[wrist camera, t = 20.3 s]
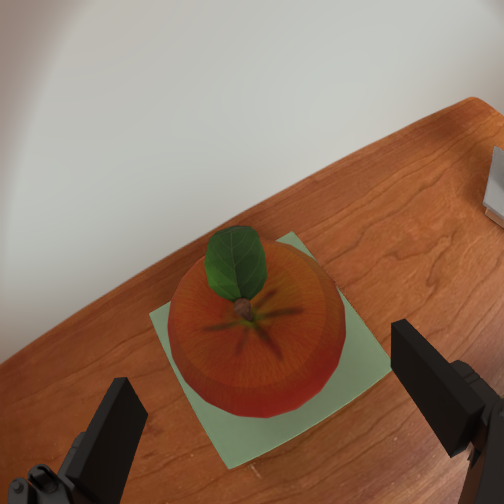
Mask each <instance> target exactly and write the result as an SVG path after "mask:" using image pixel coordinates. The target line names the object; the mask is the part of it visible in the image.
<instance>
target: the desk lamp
mask: <svg viewBox="0 0 504 504" xmlns="http://www.w3.org/2000/svg"><path fill="white" fill-rule="evenodd" d="M482 205H484V206H485V207H487V208H486V212H485V215H486V216H488V217H489V218H490V219H492V220H493V221H494V222H496V223H497V224H498V225H500V226H501V227H502V228H503V229H504V151H503V150H501V149H500V148H498V147H497V146H494V149H493V156H492V162H491V167H490V172H489V177H488V182H487V187H486V191H485V195H484V200H483V204H482Z"/></svg>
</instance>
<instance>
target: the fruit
mask: <svg viewBox="0 0 504 504" xmlns="http://www.w3.org/2000/svg"><path fill="white" fill-rule="evenodd" d="M167 331H168V337H169V343H170V349H171V354H172V358H173V360H174V362H175V364H176V366H177V368H178V370H179V372H180V373H181V375H182V377H183V379H184V381H185V382H186V383H187V384H188V385H189V386H190V387H191V388H192V389H193V390H194V391H195V392H196V393H197V394H198V395H199V396H200V397H201V398H202V399H203V400H204V401H205V402H207V403H209V404H211V405H213V406H215V407H218V408H220V409H222V410H224V411H226V412H228V413H231V414H233V415H235V416H240V417H253V418H270V417H274V416H277V415H280V414H284V413H287V412H290V411H293V410H296V409H298V408H299V407H301V406H302V405H303V404H305V403H306V402H307V401H309V400H310V399H311V398H313V397H314V396H315V395H316V394H318V393H319V392H320V391H321V390H322V389H323V387H324V386H325V385H326V383H327V382H328V380H329V379H330V377H331V376H332V374H333V373H334V371H335V370H336V368H337V367H338V364H339V360H340V357H341V354H342V350H343V347H344V343H345V339H346V320H345V306H344V303H343V301H342V299H341V296H340V294H339V291H338V289H337V287H336V284H335V282H334V281H333V279H332V278H331V277H330V276H329V275H328V274H327V273H326V271H325V270H324V269H323V268H322V267H321V266H320V265H319V263H318V262H317V261H316V260H314V259H313V258H312V257H310V256H309V255H307V254H305V253H304V252H302V251H300V250H299V249H297V248H295V247H294V246H292V245H290V244H286V243H282V242H278V241H274V240H270V239H259V236H258V234H257V231H256V230H254V229H253V228H252V227H250V226H239V225H237V226H231V227H228V228H226V229H223V230H221V231H218V232H216V233H215V234H214V235H213V236H212V237H211V238H210V239H209V242H208V247H207V252H206V255H205V256H203V257H202V258H200V259H199V260H197V261H196V263H195V264H194V265H193V266H192V267H191V268H190V269H189V270H188V272H187V273H186V274H185V275H184V276H183V277H182V278H181V280H180V282H179V285H178V287H177V289H176V291H175V293H174V295H173V297H172V299H171V303H170V309H169V316H168V323H167Z"/></svg>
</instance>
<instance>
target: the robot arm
mask: <svg viewBox="0 0 504 504" xmlns="http://www.w3.org/2000/svg"><path fill="white" fill-rule="evenodd" d="M390 367H391V369H392V370H393V371H394V373H395V374H396V376H397V377H398V379H399V380H400V382H401V383H402V384H403V386H404V387H405V389H406V390H407V392H408V393H409V395H410V396H411V398H412V399H413V401H414V402H415V404H416V405H417V407H418V408H419V410H420V411H421V413H422V414H423V416H424V417H425V419H426V420H427V422H428V423H429V425H430V426H431V428H432V430H433V431H434V433H435V434H436V436H437V437H438V439H439V440H440V442H441V444H442V445H443V447H444V448H445V450H446V452H447V453H448V455H449V456H450V458H452V457H454V456H455V455H457V454H459V453H461V452H462V451H464V450H466V448H467V446H468V444H469V442H470V441H471V442H472V444H473V445H474V448H473V449H472V451H471V453H470V455H469V457H468V459H467V460H470V463H469V467H468V471H467V475H466V479H465V482H464V486H463V489H462V492H461V496H460V499H459V502H458V504H504V398H501V397H500V396H499V395H498V394H497V393H496V392H495V391H494V390H493V389H492V388H491V387H490V386H489V385H488V384H487V383H486V382H485V381H484V380H483V379H482V378H480V376H479V375H478V374H477V373H475V371H474V370H473V369H472V368H471V367H470V366H469V365H468V364H467V363H464V362H462V361H460V360H456V361H454V362H452V363H450V364H449V363H448V362H447V361H446V360H445V359H444V358H443V356H442V355H441V354H440V353H439V352H438V351H437V350H436V349H435V348H434V347H433V346H432V345H431V344H430V343H429V342H428V341H427V340H426V339H425V338H424V337H423V336H422V335H421V334H420V333H419V332H418V331H417V330H416V329H415V328H414V327H413V326H412V325H411V324H410V323H409V322H408V321H407V320H406V319H402V320H399V321H396V322H393V323H391V365H390ZM147 417H148V413H147V412H146V410H145V408H144V407H143V405H142V403H141V402H140V400H139V398H138V396H137V395H136V393H135V391H134V389H133V388H132V386H131V384H130V382H129V380H128V378H127V377H121V378H114V380H113V382H112V384H111V385H110V387H109V389H108V391H107V393H106V394H105V396H104V398H103V400H102V402H101V404H100V405H99V407H98V409H97V411H96V413H95V415H94V417H93V419H92V420H91V422H90V424H89V426H88V428H87V430H86V432H81V433H80V434H79V435H78V436H77V437H76V438H75V440H74V442H73V444H72V446H71V448H70V450H69V452H68V454H67V455H66V457H65V459H64V461H63V463H62V465H61V467H60V469H59V471H58V473H57V475H56V474H55V473H54V472H53V471H52V470H51V469H50V468H49V467H48V466H46V465H45V464H39V465H36V466H34V467H32V469H31V470H30V471H29V473H28V477H27V479H28V480H29V481H30V482H31V483H32V484H33V485H31V484H30V483H29V482H28V481H27V480H26V479H24V478H16V479H14V480H13V481H12V482H11V484H10V486H9V491H8V503H7V504H95V503H96V504H120V500H121V497H122V494H123V490H124V487H125V484H126V481H127V477H128V474H129V471H130V468H131V465H132V462H133V459H134V456H135V452H136V449H137V446H138V443H139V440H140V437H141V434H142V431H143V429H144V426H145V423H146V420H147ZM470 458H471V459H470Z"/></svg>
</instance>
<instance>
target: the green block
mask: <svg viewBox="0 0 504 504" xmlns="http://www.w3.org/2000/svg"><path fill="white" fill-rule="evenodd" d="M276 241H278V242H282V243H286V244H290V245H292V246H294V247H295V248H297V249H299V250H300V251H302V252H304V253H305V254H307V255H309V256H310V257H312V258H313V259H314V260H316V259H315V258H314V257H313V256H312V254H311V253H310V252H309V251H308V249H307V248H306V247H305V246H304V244H303V243H302V242H301V241H300V239H299V238H298V237H297V236H296V234H295V233H294V232H293V231H292V232H290V233H288V234H286V235H285V236H283V237H281V238H279V239H278V240H276ZM319 265H320V264H319ZM336 287H337V286H336ZM337 289H338V288H337ZM338 291H339V294H340V296H341V299H342V301H343V303H344V306H345V320H346V339H345V343H344V347H343V350H342V354H341V357H340V360H339V364H338V367H337V368H336V370H335V371H334V373H333V374H332V376H331V377H330V379H329V380H328V382H327V383H326V385H325V386H324V387H323V389H322V390H321V391H320V392H319V393H318V394H316V395H315V396H314V397H313V398H311V399H310V400H309V401H307V402H306V403H305V404H303V405H302V406H301V407H299V408H298V409H296V410H293V411H290V412H287V413H284V414H280V415H277V416H274V417H270V418H253V417H240V416H235V415H233V414H231V413H228V412H226V411H224V410H222V409H220V408H218V407H215V406H213V405H211V404H209V403H207V402H205V401H204V400H203V399H202V398H201V397H200V396H199V395H198V394H197V393H196V392H195V391H194V390H193V389H192V388H191V387H190V386H189V385H188V384H187V383H186V382H185V381H184V379H183V377H182V375H181V373H180V372H179V370H178V368H177V366H176V364H175V362H174V360H173V358H172V354H171V349H170V343H169V337H168V331H167V323H168V316H169V309H170V303H171V301H170V302H168V303H167V304H165V305H163V306H161V307H160V308H158V309H156V310H155V311H153V312H151V313H149V316H150V318H151V321H152V323H153V325H154V328H155V330H156V333H157V335H158V337H159V339H160V342H161V344H162V346H163V349H164V351H165V353H166V355H167V357H168V360H169V362H170V364H171V366H172V368H173V370H174V372H175V374H176V376H177V378H178V380H179V383H180V385H181V387H182V389H183V390H184V392H185V394H186V396H187V398H188V400H189V402H190V404H191V406H192V408H193V410H194V412H195V413H196V415H197V417H198V419H199V421H200V423H201V424H202V426H203V428H204V430H205V431H206V433H207V435H208V437H209V438H210V440H211V442H212V443H213V445H214V447H215V448H216V450H217V452H218V453H219V455H220V457H221V458H222V460H223V461H224V463H225V465H226V466H227V468H228V469H232V468H234V467H236V466H239V465H241V464H243V463H245V462H247V461H249V460H251V459H254V458H256V457H258V456H260V455H262V454H264V453H266V452H268V451H270V450H272V449H274V448H275V447H277V446H279V445H281V444H283V443H285V442H287V441H288V440H290V439H292V438H294V437H295V436H297V435H299V434H301V433H302V432H304V431H306V430H307V429H309V428H311V427H312V426H314V425H316V424H317V423H319V422H321V421H322V420H324V419H325V418H327V417H328V416H330V415H331V414H333V413H334V412H336V411H337V410H339V409H340V408H342V407H343V406H345V405H346V404H348V403H349V402H351V401H352V400H353V399H355V398H356V397H358V396H359V395H360V394H362V393H363V392H364V391H366V390H367V389H368V388H370V387H371V386H372V385H374V384H375V383H376V382H378V381H379V380H380V379H381V378H383V377H384V376H385V375H386V374H388V373H389V372H390V371H391V370H392V369H391V367H390V365H391V359H390V358H389V356H388V355H387V354H386V352H385V351H384V349H383V348H382V347H381V345H380V344H379V342H378V341H377V340H376V338H375V337H374V336H373V334H372V333H371V331H370V330H369V329H368V327H367V326H366V325H365V323H364V322H363V321H362V319H361V318H360V317H359V315H358V314H357V313H356V311H355V310H354V309H353V307H352V306H351V305H350V303H349V302H348V301H347V299H346V298H345V297H344V295H343V294H342V293H341V291H340V290H339V289H338Z"/></svg>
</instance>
